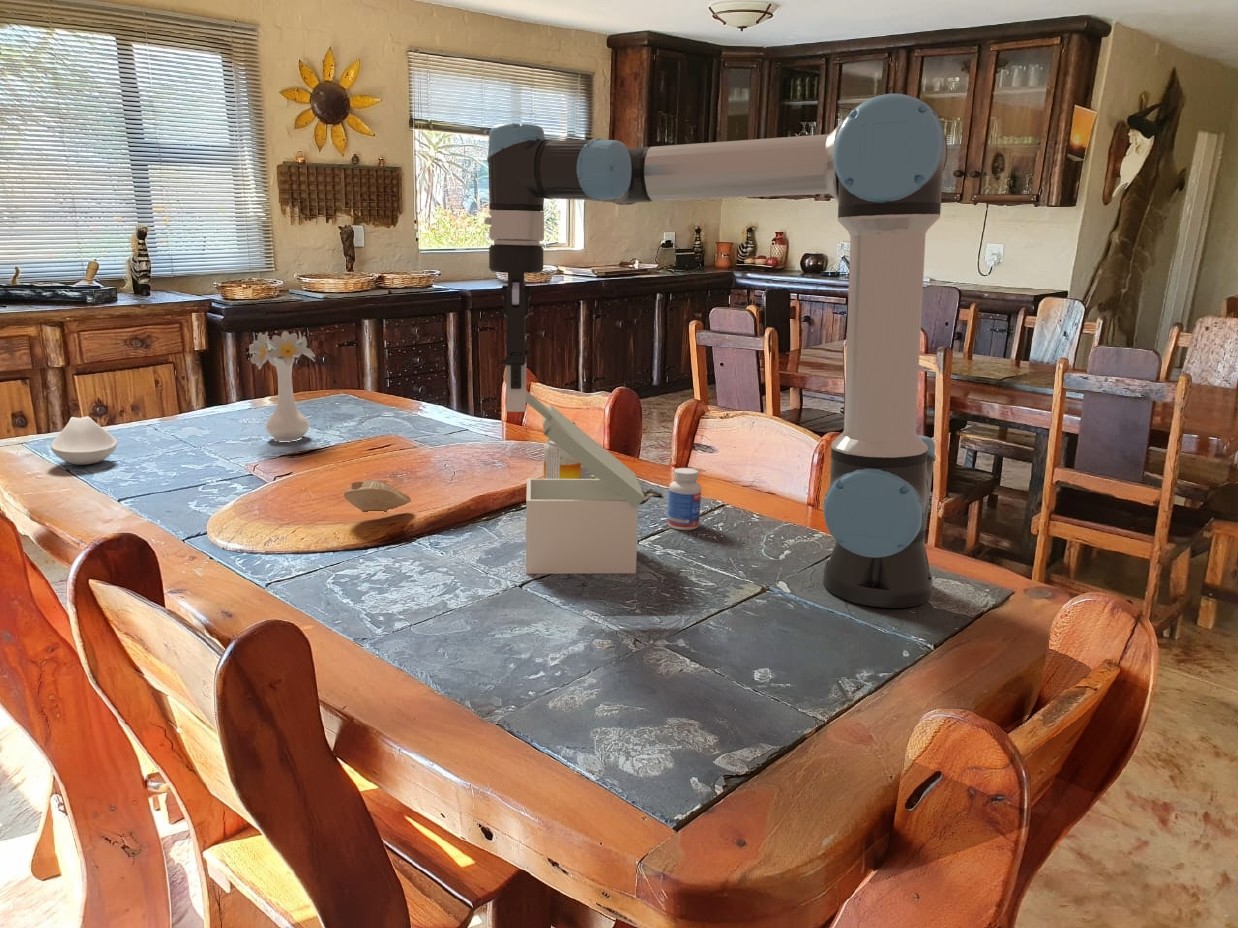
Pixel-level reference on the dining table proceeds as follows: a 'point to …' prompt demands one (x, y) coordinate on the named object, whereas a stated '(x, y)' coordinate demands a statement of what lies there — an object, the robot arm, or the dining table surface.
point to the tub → (579, 528)
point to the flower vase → (283, 382)
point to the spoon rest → (83, 442)
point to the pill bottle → (684, 500)
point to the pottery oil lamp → (375, 496)
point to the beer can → (559, 463)
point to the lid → (587, 452)
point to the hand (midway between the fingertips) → (516, 405)
